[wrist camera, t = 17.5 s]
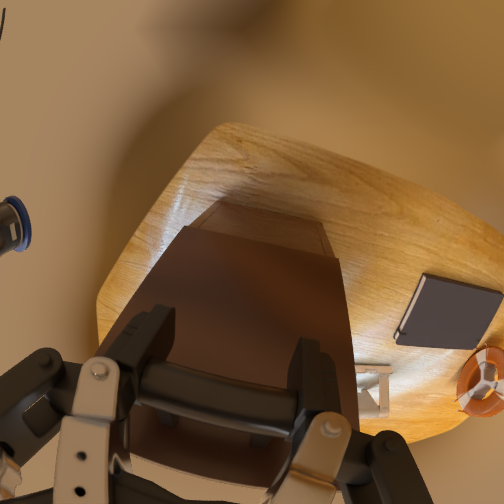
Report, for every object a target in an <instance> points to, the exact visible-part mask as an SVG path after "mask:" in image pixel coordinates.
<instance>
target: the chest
mask: <svg viewBox="0 0 504 504" xmlns="http://www.w3.org/2000/svg"><path fill="white" fill-rule="evenodd" d="M189 226H190V227H194V228H199V229H204V230H209V231H214V232H218V233H223V234H228V235H233V236H237V237H242V238H247V239H252V240H256V241H261V242H266V243H270V244H275V245H279V246H284V247H289V248H293V249H298V250H302V251H307V252H311V253H316V254H320V255H325V256H329V257H334V258H335V255H334V253H333V250H332V247H331V245H330V242H329V240H328V237H327V235H326V232H325V230H324V227H323V225H322V223H320V222H316V221H311V220H307V219H303V218H298V217H294V216H289V215H285V214H280V213H276V212H271V211H266V210H262V209H257V208H252V207H247V206H242V205H237V204H232V203H227V202H222V201H216V202H215V203H214V204H213V205H212V206H210V207H209V208H208V209H207V210H206V211H205V212H203V213H202V214H201V215H200V216H199V217H198V218H197V219H195V220H194V221H193V222H192V223H191V224H190V225H189Z"/></svg>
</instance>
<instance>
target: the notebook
mask: <svg viewBox="0 0 504 504" xmlns="http://www.w3.org/2000/svg"><path fill="white" fill-rule="evenodd" d="M503 298H504V295H503V294H502V293H501V292H500V291H496V290H492V289H488V288H483V287H479V286H475V285H471V284H467V283H463V282H458V281H454V280H450V279H445V278H441V277H437V276H433V275H428V274H424V273H423V274H422V276H421V279H420V281H419V284H418V286H417V288H416V291H415V293H414V295H413V297H412V300H411V302H410V304H409V306H408V308H407V310H406V312H405V314H404V317H403V319H402V321H401V323H400V325H399V327H398V328H397V330H396V332H395V334H394V339H395V340H396V344H397V345H405V346H416V347H429V348H444V349H465V350H473V349H475V348H476V346H477V345H478V343H479V342H480V340H481V338H482V337H483V335H484V333H485V332H486V330H487V328H488V326H489V325H490V323H491V321H492V319H493V317H494V315H495V314H496V312H497V310H498V308H499V306H500V304H501V302H502V300H503Z"/></svg>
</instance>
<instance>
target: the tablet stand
mask: <svg viewBox="0 0 504 504" xmlns="http://www.w3.org/2000/svg"><path fill="white" fill-rule="evenodd" d="M355 372H356V373H378V374H379V406H378V405H377V404H376V402H375V401H374V399H373V398H372V397H371V395H370V394H369V392H368V391H367V390H361V393H357V394H358V408H359V419H363V418H386V417H388V415H389V379H388V376H389V374H392V373H393V370H392V367H391V366H368V365H355Z"/></svg>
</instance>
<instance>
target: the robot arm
mask: <svg viewBox="0 0 504 504" xmlns="http://www.w3.org/2000/svg"><path fill="white" fill-rule="evenodd" d="M4 17H5V8H4V9H3V13H2V21H1V27H0V39H1V34H2V30H3V24H4ZM23 241H24V225H23V221H22V218H21V215H20V213H19V211H18V209H17V208H16V207H15V206H14V205H13V204H11V203H10V202H9V200H6V201H3V202H1V203H0V257H1V256H3V255H4V254H6V253H8V252H9V251H11V250H13V249H15V248H17V247H19V246H21V245H22V243H23ZM175 318H176V309H175V307H172V306H168V305H165V304H161V303H156V305H155V306H154V307H153V309H152V310H151V311H150V313H148V312H145V311H142V312H140V313H138V314H137V315H135V316H133V317H132V319H131V320H130V321H129V322H128V324H127V326H125V327H124V329H123V330H122V333H120V334H119V335H118V336H117V338H116V339H115V340H114V342H113V343H112V344H111V346H110V347H109V348H108V350H107V351H106V352H105V354H104V355H103V356H102V357H101V356H99V357H93V358H91V359H89V360H87V361H86V362H85V363H84V364H78V363H72V362H65V361H63V360H62V357H61V355H60V353H59V352H58V351H57V350H55V349H53V348H41V349H38V350H36V351H35V352H33V353H32V354H30V355H29V356H28V357H26V358H25V359H24V360H22V361H21V362H19V363H18V364H17V365H15V366H14V367H12V368H11V369H10V370H8V371H7V372H6V373H4V374H3V375H2V376H0V504H238V503H232V502H227V501H199V500H198V501H197V500H185V499H182V498H180V497H178V496H176V495H175V494H173V493H171V492H169V491H167V490H166V489H164V488H162V487H160V486H159V485H157V484H155V483H154V482H152V481H149V480H146V479H143V478H141V477H139V476H136V475H134V474H133V471H132V464H131V460H130V410H131V408H132V406H133V404H137V405H140V406H143V404H142V403H140V401H139V398H138V388H139V382H140V378H141V375H142V372H143V370H144V368H145V366H146V364H147V362H148V361H149V360H150V359H151V358H152V357H156V358H159V359H163V360H166V359H167V357H168V355H169V353H170V351H171V349H172V347H173V344H174V340H175ZM337 382H338V380H337V375H336V367H335V362H334V361H333V359H332V358H331V356H330V355H329V353H322V352H321V350H320V341H319V339H314V338H308V337H303V336H301V337H300V338H299V340H298V343H297V346H296V348H295V351H294V354H293V356H292V359H291V361H290V364H289V368H288V374H287V389H292V390H295V391H296V392H297V396H298V405H297V413H296V418H295V422H294V425H293V428H292V431H291V433H290V435H289V436H288V437H287V438H284V441H285V442H292V449H291V452H290V453H289V454H288V456H287V458H286V460H285V462H284V463H283V465H282V467H281V469H280V470H279V472H278V474H277V475H276V477H275V479H274V480H273V482H272V484H271V485H270V487H269V489H268V490H267V492H266V493H265V494H264V496H263V497H262V499H261V500H260V501H259V503H258V504H331V503H332V501H333V499H334V496H335V494H336V491H337V484H335V480H336V481H338V482H339V485H340V489H341V492H342V495H343V499H344V502H345V504H434V503H433V501H432V498H431V496H430V494H429V492H428V489H427V487H426V485H425V482H424V480H423V478H422V476H421V474H420V471H419V469H418V467H417V465H416V463H415V460H414V458H413V456H412V454H411V452H410V450H409V448H408V446H407V443H406V441H405V440H404V438H403V437H402V436H401V435H400V434H398V433H397V432H394V431H391V430H385V431H381V432H379V433H378V434H376V435H375V436H372V435H369V434H365V433H362V432H359V431H356V430H354V429H353V428H351V425H350V423H349V421H348V420H347V419H346V418H345V417H344V416H342V412H341V403H340V395H339V388H338V383H337ZM43 395H44V397H42V396H43ZM41 397H42V398H41ZM39 398H41V399H40V400H39V401H38V402H36V401H37V400H38V399H39ZM35 402H36V403H35ZM33 403H35V404H34V405H33V406H31V405H32V404H33ZM30 406H31V407H30ZM29 407H30V408H29ZM28 408H29V409H28ZM26 409H28V410H27V411H25V410H26ZM59 431H60V435H59V442H58V448H57V456H56V465H55V476H54V487H52V488H49V489H46V490H42V491H39V492H36V493H31V494H27V495H23V496H19V497H15V488H16V486H17V485H20V484H21V483H22V477H21V471H20V468H21V467H22V466H23V465H24V464H25V463H26V462H27V461H28V460H29V459H31V458H32V457H33V456H34V455H35V454H36V453H37V452H38V451H39V450H40V449H41V448H42V447H43V446H44V445H45V444H47V443H48V442H49V441H50V440H51V439H52V438H53V437H54V436H55V435H56V434H57V433H58V432H59Z"/></svg>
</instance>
